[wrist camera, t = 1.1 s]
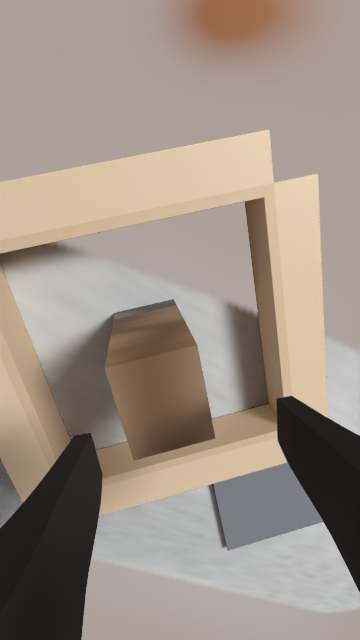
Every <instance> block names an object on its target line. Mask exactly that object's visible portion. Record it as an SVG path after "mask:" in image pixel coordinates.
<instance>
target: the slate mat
mask: <svg viewBox="0 0 360 640" xmlns="http://www.w3.org/2000/svg"><path fill="white" fill-rule="evenodd" d="M213 486H214V491H215V496H216V500H217V505H218V510H219V514H220V519H221V524H222V528H223V533H224V538H225V542H226V546H227V550H231V549H235V548H238V547H241V546H245V545H248V544H251V543H254V542H258V541H261V540H264V539H268V538H271V537H274V536H278V535H281V534H284V533H287V532H291V531H294V530H297V529H301V528H304V527H307V526H311V525H314V524H317V523H320V522H323V520H322V518H321V517H320V515H319V513H318V512H317V510H316V509H315V507H314V505H313V504H312V502H311V501H310V499H309V497H308V496H307V494H306V492H305V491H304V489H303V488H302V486H301V484H300V483H299V481H298V479H297V478H296V476H295V475H294V473H293V471H292V470H291V468H290V466H289V464H288V462H287V463H284V464H280V465H277V466H273V467H270V468H266V469H263V470H259V471H256V472H252V473H249V474H245V475H242V476H238V477H235V478H231V479H228V480H224V481H221V482H217V483H214V484H213Z"/></svg>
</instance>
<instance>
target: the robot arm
mask: <svg viewBox="0 0 360 640" xmlns="http://www.w3.org/2000/svg"><path fill="white" fill-rule="evenodd" d="M277 440H278V443H279V445H280V447H281V449H282V452H283V454H284V456H285V458H286V460H287V462H288V464H289V466H290V468H291V470H292V471H293V473H294V475H295V476H296V478H297V479H298V481H299V483H300V484H301V486H302V488H303V489H304V491H305V492H306V494H307V496H308V497H309V499H310V501H311V502H312V504H313V505H314V507H315V509H316V510H317V512H318V513H319V515H320V517H321V518H322V520H323V522H324V523H325V525H326V527H327V529H328V530H329V532H330V534H331V536H332V537H333V539H334V541H335V543H336V545H337V547H338V549H339V551H340V553H341V555H342V557H343V559H344V561H345V563H346V565H347V567H348V569H349V571H350V573H351V575H352V578H353V580H354V582H355V584H356V586H357V588H358V590H359V592H360V436H359V435H357V434H355V433H353V432H351V431H350V430H348V429H346V428H344V427H342V426H341V425H339V424H337V423H336V422H334V421H332V420H330V419H329V418H327V417H325V416H324V415H322V414H321V413H319V412H317V411H316V410H314V409H312V408H311V407H309V406H308V405H306V404H304V403H303V402H301V401H300V400H298V399H296V398H295V397H293V396H288V397H282V398H277ZM102 479H103V474H102V470H101V467H100V463H99V460H98V456H97V453H96V449H95V446H94V442H93V439H92V436H91V433H88V434H83V435H77V436H74V437H73V439H72V440H71V441H70V442H69V444H68V445H67V447H66V448H65V449H64V451H63V452H62V453H61V455H60V456H59V458H58V459H57V460H56V462H55V463H54V464H53V466H52V467H51V468H50V470H49V471H48V472H47V474H46V475H45V476H44V478H43V479H42V480H41V482H40V483H39V484H38V485H37V487H36V488H35V489H34V490H33V492H32V493H31V494H30V495H29V496H28V498H27V499H26V500H25V501H24V502H23V504H22V505H21V506H20V507H19V509H18V510H17V511H16V512H15V513H14V514H13V515H12V516H11V517H10V519H9V520H8V521H7V522H6V523H5V524H4V525H3V526H2V527H1V528H0V640H81V637H82V625H83V615H84V605H85V594H86V586H87V578H88V572H89V566H90V561H91V556H92V550H93V545H94V539H95V534H96V528H97V523H98V517H99V511H100V506H101V495H102Z"/></svg>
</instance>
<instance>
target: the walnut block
mask: <svg viewBox="0 0 360 640" xmlns="http://www.w3.org/2000/svg"><path fill="white" fill-rule="evenodd" d="M104 370H105V373H106V376H107V379H108V382H109V385H110V388H111V391H112V395H113V398H114V401H115V404H116V407H117V410H118V413H119V416H120V419H121V423H122V426H123V429H124V432H125V435H126V438H127V441H128V444H129V447H130V451H131V454H132V457H133V460H134V461H135V460H139V459H142V458H146V457H150V456H153V455H157V454H160V453H164V452H168V451H171V450H175V449H179V448H182V447H186V446H190V445H193V444H197V443H201V442H204V441H208V440H212V439H215V433H214V428H213V423H212V418H211V413H210V408H209V403H208V398H207V393H206V388H205V382H204V377H203V372H202V367H201V362H200V357H199V352H198V347H197V344H196V342H195V340H194V338H193V336H192V334H191V332H190V330H189V329H188V327H187V325H186V323H185V321H184V319H183V317H182V315H181V313H180V311H179V309H178V307H177V305H176V303H175V301H174V300H173V299H172V300H168V301H164V302H160V303H155V304H151V305H147V306H142V307H138V308H134V309H130V310H125V311H121V312H117V313H115V314H114V320H113V325H112V330H111V335H110V340H109V346H108V351H107V356H106V361H105V366H104Z"/></svg>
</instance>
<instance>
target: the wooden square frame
mask: <svg viewBox="0 0 360 640" xmlns="http://www.w3.org/2000/svg"><path fill="white" fill-rule="evenodd" d="M244 201H245V207H246V214H247V224H248V232H249V241H250V249H251V257H252V266H253V275H254V283H255V292H256V300H257V309H258V317H259V326H260V334H261V343H262V352H263V360H264V369H265V377H266V386H267V394H268V403H269V404H266V405H263V406H259V407H255V408H251V409H248V410H244V411H240V412H237V413H233V414H229V415H225V416H222V417H218V418H214V419H212V423H213V428H214V433H215V439H212V440H208V441H204V442H201V443H197V444H193V445H190V446H186V447H182V448H179V449H175V450H171V451H168V452H164V453H160V454H157V455H153V456H150V457H146V458H142V459H139V460H135V461H134V460H133V457H132V454H131V451H130V447H129V444H128V442H124V443H121V444H117V445H113V446H110V447H106V448H102V449H98V450H96V453H97V456H98V460H99V463H100V467H101V470H102V474H103V479H102V495H101V506H100V511H99V516H101V515H105V514H108V513H112V512H115V511H119V510H122V509H126V508H129V507H133V506H136V505H140V504H143V503H147V502H150V501H154V500H157V499H161V498H164V497H168V496H171V495H175V494H178V493H182V492H185V491H189V490H192V489H196V488H200V487H203V486H207V485H210V484H214V483H217V482H221V481H224V480H228V479H231V478H235V477H238V476H242V475H245V474H249V473H252V472H256V471H259V470H263V469H266V468H270V467H273V466H277V465H280V464H284V463H287V460H286V458H285V456H284V454H283V452H282V449H281V447H280V445H279V443H278V440H277V398H282V397H288V396H293V397H295V398H296V399H298V400H300V401H301V402H303V403H304V404H306V405H308V406H309V407H311V408H312V409H314V410H316V411H317V412H319V413H321V414H322V415H324V416H325V417H327V418H328V413H327V388H326V363H325V338H324V313H323V288H322V262H321V239H320V238H321V237H320V213H319V187H318V174H314V175H309V176H305V177H300V178H295V179H291V180H285V181H281V182H276V183H274V179H273V167H272V156H271V145H270V132H269V130H265V131H259V132H254V133H249V134H244V135H239V136H234V137H229V138H223V139H218V140H213V141H208V142H203V143H198V144H193V145H188V146H182V147H178V148H173V149H167V150H162V151H157V152H152V153H147V154H142V155H136V156H132V157H126V158H121V159H116V160H111V161H106V162H101V163H95V164H90V165H85V166H80V167H75V168H70V169H65V170H60V171H55V172H49V173H45V174H39V175H34V176H29V177H24V178H19V179H14V180H9V181H4V182H0V253H5V252H9V251H14V250H19V249H23V248H28V247H33V246H37V245H42V244H47V243H52V242H56V241H61V240H66V239H70V238H75V237H79V236H84V235H89V234H93V233H98V232H103V231H108V230H113V229H117V228H122V227H126V226H131V225H136V224H141V223H145V222H150V221H155V220H159V219H164V218H169V217H174V216H178V215H183V214H188V213H192V212H196V211H202V210H206V209H210V208H216V207H221V206H225V205H230V204H235V203H239V202H244ZM70 441H71V440H70V437H69V435H68V432H67V430H66V427H65V425H64V422H63V420H62V417H61V415H60V412H59V410H58V407H57V405H56V402H55V400H54V397H53V395H52V392H51V390H50V387H49V385H48V382H47V380H46V377H45V375H44V372H43V370H42V367H41V365H40V362H39V360H38V357H37V355H36V352H35V350H34V347H33V345H32V342H31V340H30V337H29V335H28V332H27V330H26V327H25V325H24V322H23V320H22V317H21V315H20V312H19V310H18V307H17V305H16V302H15V300H14V297H13V295H12V292H11V290H10V287H9V285H8V283H7V280H6V278H5V275H4V273H3V270H2V268H1V265H0V459H1V461H2V463H3V465H4V467H5V469H6V471H7V473H8V475H9V477H10V479H11V481H12V483H13V485H14V486H15V488H16V490H17V492H18V494H19V496H20V498H21V500H22V502H24V501H25V500H26V499H27V498H28V496H29V495H30V494H31V493H32V492H33V490H34V489H35V488H36V487H37V485H38V484H39V483H40V482H41V480H42V479H43V478H44V476H45V475H46V474H47V472H48V471H49V470H50V468H51V467H52V466H53V464H54V463H55V462H56V460H57V459H58V458H59V456H60V455H61V453H62V452H63V451H64V449H65V448H66V447H67V445H68V444H69V442H70Z"/></svg>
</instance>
